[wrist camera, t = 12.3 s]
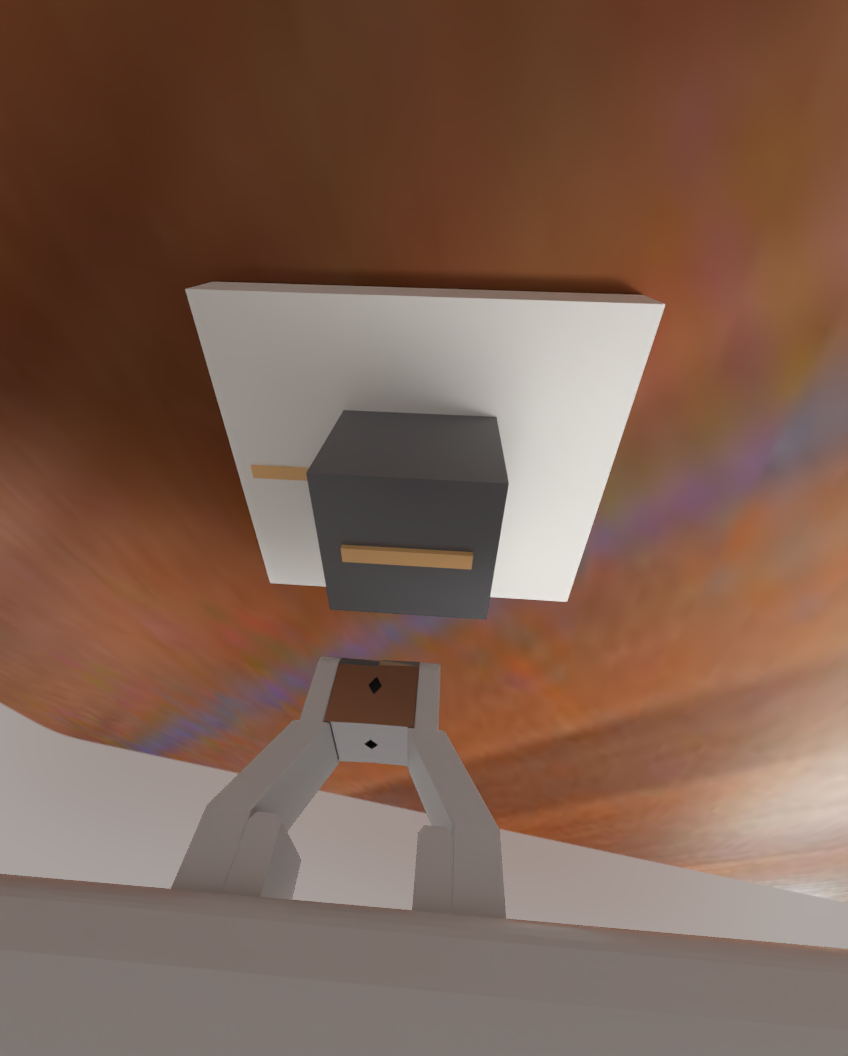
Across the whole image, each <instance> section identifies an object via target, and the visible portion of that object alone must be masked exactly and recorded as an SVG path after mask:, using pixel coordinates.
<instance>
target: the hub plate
mask: <svg viewBox="0 0 848 1056" xmlns="http://www.w3.org/2000/svg"><path fill="white" fill-rule="evenodd" d="M185 291H186V294H187V298H188V301H189V305H190V308H191V312H192V315H193V318H194V322H195V325H196V329H197V332H198V336H199V339H200V343H201V346H202V350H203V353H204V356H205V360H206V363H207V367H208V370H209V374H210V377H211V381H212V384H213V387H214V391H215V394H216V398H217V401H218V405H219V408H220V412H221V415H222V419H223V422H224V425H225V429H226V432H227V436H228V439H229V443H230V446H231V450H232V453H233V457H234V460H235V463H236V467H237V470H238V474H239V477H240V481H241V484H242V488H243V491H244V495H245V498H246V501H247V505H248V508H249V512H250V515H251V519H252V522H253V526H254V529H255V532H256V536H257V539H258V543H259V546H260V550H261V553H262V557H263V560H264V564H265V567H266V570H267V574H268V577H269V581H270V583H276V584H292V585H308V586H324V587H326V583H325V578H324V572H323V566H322V560H321V555H320V549H319V543H318V538H317V532H316V526H315V521H314V515H313V509H312V504H311V498H310V492H309V487H308V481H307V475H306V472H307V471H308V469H309V467H310V466H311V464H312V462H313V461H314V459H315V457H316V456H317V454H318V452H319V451H320V449H321V447H322V446H323V444H324V442H325V440H326V439H327V437H328V435H329V434H330V432H331V430H332V429H333V427H334V425H335V424H336V422H337V420H338V419H339V417H340V415H341V414H342V412H343V410H352V411H375V412H397V413H420V414H443V415H466V416H488V417H497V422H498V428H499V433H500V438H501V444H502V449H503V455H504V460H505V465H506V471H507V476H508V482H509V485H508V491H507V497H506V503H505V509H504V515H503V521H502V528H501V534H500V540H499V546H498V552H497V558H496V564H495V570H494V576H493V582H492V588H491V594H490V597H499V598H515V599H531V600H547V601H563V602H567V600H568V597H569V594H570V591H571V588H572V585H573V582H574V579H575V576H576V573H577V570H578V567H579V564H580V561H581V558H582V555H583V552H584V549H585V546H586V543H587V540H588V537H589V534H590V531H591V528H592V525H593V522H594V519H595V516H596V513H597V510H598V507H599V503H600V500H601V497H602V494H603V491H604V488H605V485H606V482H607V479H608V476H609V473H610V470H611V467H612V464H613V461H614V458H615V455H616V452H617V449H618V446H619V443H620V440H621V437H622V434H623V431H624V428H625V425H626V422H627V419H628V416H629V413H630V410H631V407H632V404H633V401H634V398H635V395H636V392H637V389H638V386H639V383H640V380H641V377H642V374H643V371H644V368H645V365H646V362H647V359H648V356H649V353H650V350H651V347H652V344H653V341H654V338H655V335H656V332H657V329H658V326H659V323H660V320H661V316H662V313H663V310H664V307H665V304H664V303H661V302H659V301H657V300H654V299H652V298H650V297H647V296H645V295H632V294H600V293H568V292H535V291H503V290H470V289H438V288H406V287H373V286H341V285H308V284H276V283H244V282H209V283H206V284H202V285H198V286H194V287H191V288H187V289H185Z"/></svg>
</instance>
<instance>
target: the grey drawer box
mask: <svg viewBox="0 0 848 1056" xmlns="http://www.w3.org/2000/svg"><path fill="white" fill-rule="evenodd" d="M306 475H307V481H308V487H309V492H310V498H311V504H312V509H313V515H314V521H315V526H316V532H317V538H318V543H319V549H320V555H321V560H322V566H323V572H324V578H325V583H326V589H327V595H328V600H329V606H330V609H332V610H347V611H362V612H378V613H393V614H408V615H424V616H439V617H454V618H470V619H485V620H486V618H487V612H488V606H489V600H490V594H491V588H492V582H493V576H494V570H495V564H496V558H497V552H498V546H499V540H500V534H501V528H502V521H503V515H504V509H505V503H506V497H507V491H508V485H509V482H508V476H507V471H506V465H505V460H504V455H503V449H502V444H501V438H500V433H499V428H498V422H497V417H488V416H466V415H443V414H420V413H397V412H375V411H352V410H343V412H342V414H341V415H340V417H339V419H338V420H337V422H336V424H335V425H334V427H333V429H332V430H331V432H330V434H329V435H328V437H327V439H326V440H325V442H324V444H323V446H322V447H321V449H320V451H319V452H318V454H317V456H316V457H315V459H314V461H313V462H312V464H311V466H310V467H309V469H308V471H307V472H306Z"/></svg>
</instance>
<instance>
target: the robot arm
mask: <svg viewBox="0 0 848 1056" xmlns="http://www.w3.org/2000/svg"><path fill="white" fill-rule="evenodd" d="M440 669H441V668H440V664H435V663H420V662H407V661H386V660H381V661H378V660H364V659H350V658H341V657H324V656H321V658H320V659H319V661H318V663H317V666H316V669H315V672H314V675H313V678H312V682H311V685H310V688H309V691H308V694H307V697H306V701H305V704H304V707H303V710H302V713H301V717H300V720H293V721H292V722H291V723H290V724H289V725H288V726H287V727H286V728H285V729H284V730H283V731H282V732H281V733H280V734H279V735H278V736H277V737H276V738H274V739H273V740H272V741H271V742H270V743H269V744H268V745H267V746H266V747H265V748H264V749H263V750H262V751H261V752H260V753H259V754H258V755H257V756H256V757H255V758H254V759H253V760H252V761H251V762H250V763H249V764H248V765H247V766H246V767H245V768H244V769H243V770H242V771H241V772H240V773H239V774H238V775H237V776H236V777H235V778H234V779H233V780H232V781H231V782H230V783H229V784H228V785H227V786H226V787H225V788H224V789H223V790H222V791H221V792H220V793H219V794H218V795H217V796H216V797H215V798H214V799H213V800H212V801H211V802H210V803H209V804H208V805H207V806H206V809H205V811H204V813H203V815H202V818H201V820H200V822H199V825H198V827H197V830H196V832H195V834H194V836H193V839H192V841H191V843H190V845H189V848H188V850H187V853H186V855H185V857H184V859H183V862H182V864H181V867H180V869H179V871H178V873H177V876H176V878H175V880H174V883H173V885H172V887H171V889H165V888H154V887H142V886H131V885H119V884H109V883H97V882H86V881H74V880H63V879H52V878H41V877H30V876H18V875H7V874H0V1056H848V949H842V948H831V947H830V948H829V947H819V946H808V945H797V944H786V943H774V942H762V941H752V940H740V939H729V938H718V937H717V938H716V937H707V936H695V935H683V934H672V933H661V932H649V931H639V930H628V929H616V928H604V927H593V926H582V925H571V924H560V923H548V922H537V921H526V920H514V919H506V913H505V898H504V884H503V870H502V856H501V842H500V829H499V828H498V826H497V824H496V822H495V820H494V819H493V817H492V815H491V813H490V811H489V810H488V808H487V806H486V804H485V803H484V801H483V799H482V797H481V795H480V794H479V792H478V790H477V788H476V786H475V785H474V783H473V781H472V779H471V777H470V776H469V774H468V772H467V770H466V768H465V767H464V765H463V763H462V761H461V759H460V758H459V756H458V754H457V752H456V751H455V749H454V747H453V745H452V743H451V742H450V740H449V738H448V736H447V734H446V733H445V731H442V730H438V726H439V698H440ZM338 761H351V762H374V763H383V764H392V765H402V766H408V770H409V772H410V775H411V777H412V779H413V782H414V784H415V787H416V789H417V792H418V794H419V796H420V799H421V801H422V804H423V806H424V808H425V811H426V813H427V816H428V818H429V820H430V823H431V825H432V826H427V825H425V826H423V828H422V829H421V830H420V831H419V832H418V841H417V855H416V868H415V881H414V895H413V907H412V910H401V909H390V908H379V907H368V906H367V907H366V906H356V905H345V904H333V903H322V902H312V901H300V900H292V898H293V893H294V889H295V884H296V880H297V876H298V871H299V867H300V863H301V859H300V856H299V855H298V852H297V850H296V848H295V846H294V844H293V842H292V840H291V839H290V837H289V835H288V833H287V831H288V830H289V829H290V827H291V826H292V825H293V823H294V822H295V821H296V819H297V818H298V817H299V815H300V814H301V813H302V811H303V810H304V808H305V807H306V806H307V805H308V803H309V802H310V801H311V799H312V798H313V797H314V795H315V794H316V793H317V791H318V790H319V789H320V788H321V786H322V785H323V784H324V782H325V781H326V780H327V778H328V777H329V776H330V774H331V773H332V772H333V770H334V769H335V768H336V766H337V765H338V764H339V763H338Z"/></svg>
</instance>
